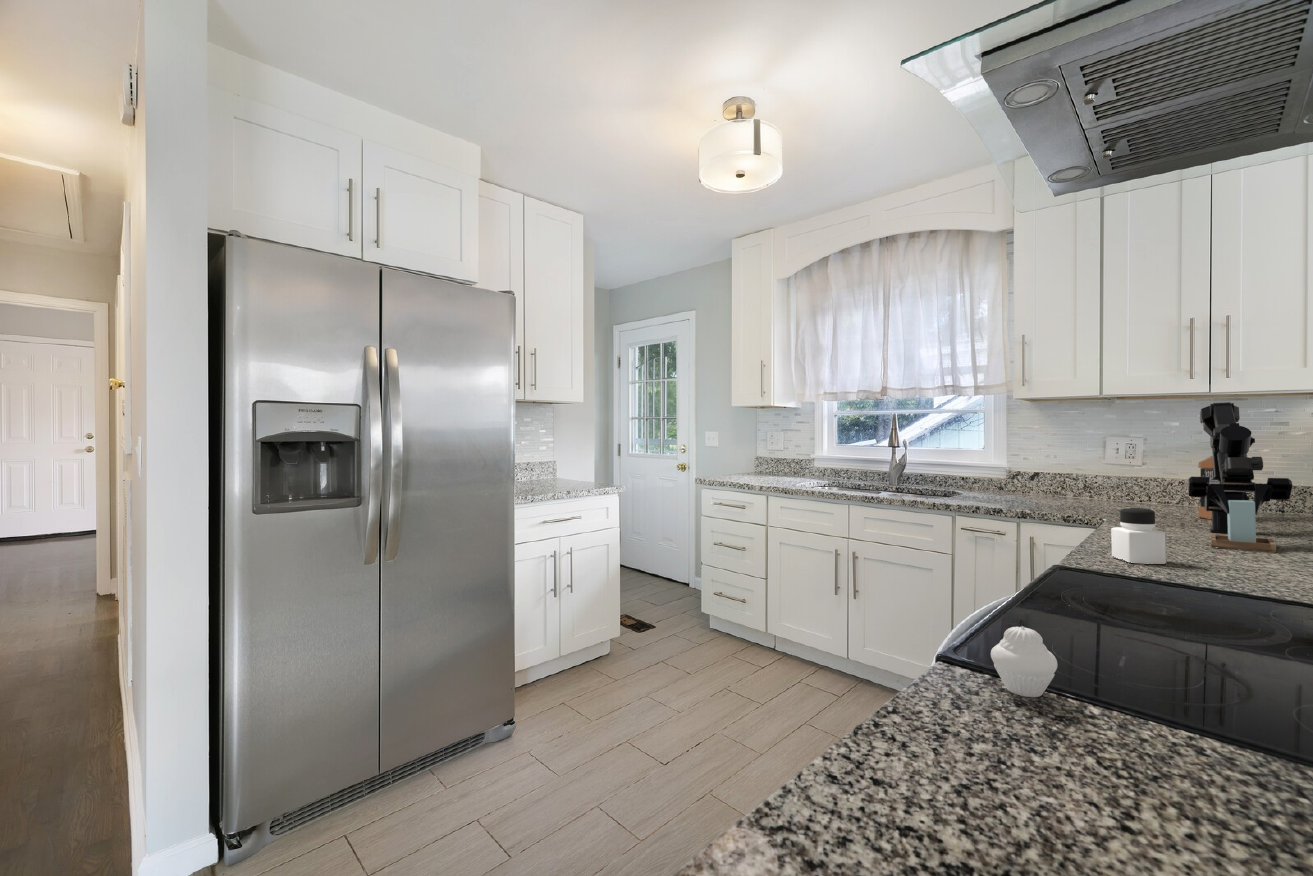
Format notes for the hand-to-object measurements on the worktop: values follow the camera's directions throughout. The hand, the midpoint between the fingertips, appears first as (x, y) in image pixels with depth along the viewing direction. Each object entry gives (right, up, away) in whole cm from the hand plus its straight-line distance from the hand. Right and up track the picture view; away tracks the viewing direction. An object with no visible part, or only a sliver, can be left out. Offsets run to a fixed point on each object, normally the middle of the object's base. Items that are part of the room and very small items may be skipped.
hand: (1241, 513), depth 145 cm
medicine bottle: (-39, -9, -15) cm, 43 cm away
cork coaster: (+11, -9, +13) cm, 19 cm away
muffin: (-107, -9, -83) cm, 136 cm away
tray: (+1, -9, +1) cm, 9 cm away
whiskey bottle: (+48, -9, +54) cm, 73 cm away
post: (+1, -7, +1) cm, 7 cm away
